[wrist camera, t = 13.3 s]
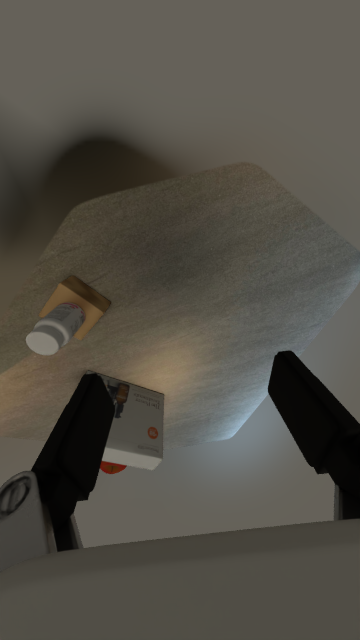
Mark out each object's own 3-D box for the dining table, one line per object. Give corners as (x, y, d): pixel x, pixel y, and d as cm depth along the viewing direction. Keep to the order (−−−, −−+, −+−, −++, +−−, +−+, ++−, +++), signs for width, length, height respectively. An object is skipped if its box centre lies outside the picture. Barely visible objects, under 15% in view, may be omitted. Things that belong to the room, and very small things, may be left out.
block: (52, 304, 35) (38, 315, 31) (72, 274, 32) (59, 282, 28) (89, 327, 38) (80, 340, 34) (111, 302, 35) (104, 313, 31)
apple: (132, 442, 61) (126, 482, 52) (99, 438, 59) (87, 479, 50) (140, 425, 57) (135, 465, 47) (105, 419, 54) (92, 461, 45)
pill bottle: (50, 311, 31) (13, 341, 24) (69, 296, 30) (37, 322, 22) (73, 330, 33) (46, 362, 26) (91, 317, 32) (68, 347, 24)
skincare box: (165, 392, 50) (164, 460, 36) (156, 404, 52) (152, 472, 38) (87, 368, 44) (50, 438, 30) (81, 382, 46) (44, 453, 32)
